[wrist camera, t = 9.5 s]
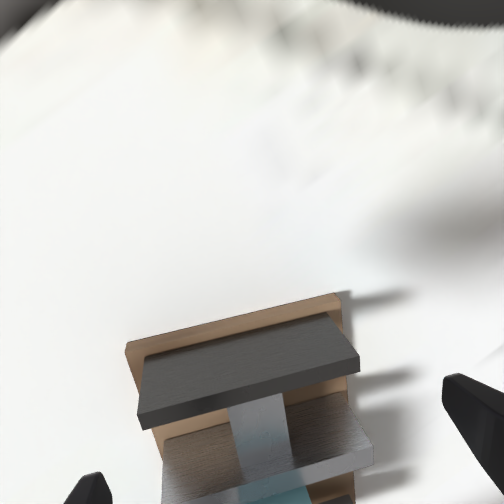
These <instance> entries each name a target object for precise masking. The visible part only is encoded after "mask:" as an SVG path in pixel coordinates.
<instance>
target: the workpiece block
mask: <svg viewBox="0 0 504 504" xmlns="http://www.w3.org/2000/svg"><path fill="white" fill-rule="evenodd" d="M246 504H312V503H311V500H310V497H309V494H308V491H307V489H306V486H302V487H299V488H295V489H292V490H289V491H286V492H282V493H279V494H276V495H272V496H269V497H266V498H263V499H259V500H256V501H253V502H250V503H246Z"/></svg>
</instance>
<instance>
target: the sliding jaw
mask: <svg viewBox="0 0 504 504" xmlns="http://www.w3.org/2000/svg"><path fill="white" fill-rule="evenodd" d="M357 372H360V356H359V354H358V353H357V352H356V350H355V349H354V348H353V346H352V345H351V344H350V342H349V341H348V340H347V339H346V337H345V336H344V335H343V333H342V332H341V331H340V329H339V328H338V327H337V325H336V324H335V323H334V321H333V320H332V319H331V317H330V316H329V315H328V314H327V312H324V313H320V314H315V315H311V316H307V317H303V318H299V319H295V320H291V321H287V322H283V323H279V324H275V325H271V326H267V327H263V328H259V329H255V330H251V331H247V332H243V333H239V334H235V335H231V336H226V337H222V338H218V339H214V340H210V341H206V342H202V343H198V344H194V345H190V346H186V347H182V348H178V349H174V350H170V351H166V352H162V353H158V354H154V355H150V356H146V357H144V365H143V372H142V380H141V388H140V395H139V403H138V411H137V416H138V419H139V422H140V424H141V427H142V430H147V429H150V428H154V427H158V426H161V425H165V424H169V423H172V422H176V421H180V420H184V419H187V418H191V417H195V416H198V415H202V414H206V413H209V412H213V411H217V410H220V409H224V408H227V412H228V416H229V420H230V423H227V424H223V425H220V426H216V427H212V428H209V429H205V430H202V431H198V432H194V433H191V434H187V435H183V436H180V437H176V438H173V439H169V440H165V441H164V447H163V473H162V499H161V504H246V503H250V502H253V501H256V500H259V499H263V498H266V497H269V496H272V495H276V494H279V493H282V492H286V491H289V490H292V489H295V488H299V487H302V486H305V485H309V484H312V483H315V482H318V481H322V480H325V479H328V478H331V477H335V476H338V475H341V474H345V473H348V472H351V471H354V470H358V469H361V468H364V467H367V466H371V465H374V460H373V445H372V444H371V442H370V440H369V439H368V437H367V435H366V434H365V432H364V430H363V429H362V427H361V425H360V424H359V422H358V420H357V418H356V417H355V415H354V413H353V412H352V410H351V408H350V407H349V405H348V403H347V402H346V400H345V398H344V397H343V395H342V393H341V392H339V393H335V394H332V395H328V396H324V397H321V398H317V399H314V400H310V401H306V402H303V403H299V404H296V405H292V406H288V407H285V408H284V402H283V396H282V393H283V392H287V391H290V390H294V389H298V388H302V387H305V386H309V385H313V384H316V383H320V382H324V381H327V380H331V379H335V378H338V377H342V376H346V375H349V374H353V373H357Z"/></svg>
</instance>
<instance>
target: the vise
mask: <svg viewBox="0 0 504 504" xmlns="http://www.w3.org/2000/svg"><path fill="white" fill-rule="evenodd" d="M324 312H327V314H328V315H329V316H330V317H331V319H332V320H333V321H334V323H335V324H336V325H337V327H338V328H339V329H340V331H341V332H342V333H343V327H342V314H341V301H340V299H339V298H338V297H337V296H336V295H335V293H331V294H327V295H323V296H319V297H315V298H311V299H306V300H302V301H298V302H294V303H290V304H286V305H282V306H277V307H273V308H269V309H265V310H261V311H257V312H252V313H248V314H244V315H240V316H236V317H232V318H228V319H223V320H219V321H215V322H211V323H207V324H203V325H199V326H194V327H190V328H186V329H182V330H178V331H174V332H170V333H165V334H161V335H157V336H153V337H149V338H145V339H141V340H136V341H132V342H128V343H127V344H126V349H125V355H126V358H127V361H128V364H129V367H130V370H131V372H132V375H133V378H134V381H135V384H136V387H137V389H138V392H139V395H140V388H141V380H142V372H143V365H144V357H146V356H150V355H154V354H158V353H162V352H166V351H170V350H174V349H178V348H182V347H186V346H190V345H194V344H198V343H202V342H206V341H210V340H214V339H218V338H222V337H226V336H231V335H235V334H239V333H243V332H247V331H251V330H255V329H259V328H263V327H267V326H271V325H275V324H279V323H283V322H287V321H291V320H295V319H299V318H303V317H307V316H311V315H315V314H320V313H324ZM339 392H341V393H342V395H343V397H344V398H345V400H346V402H347V403H348V395H347V381H346V376H342V377H338V378H335V379H331V380H327V381H324V382H320V383H316V384H313V385H309V386H305V387H302V388H298V389H294V390H290V391H287V392H283V393H282V396H283V402H284V408H285V407H288V406H292V405H296V404H299V403H303V402H306V401H310V400H314V399H317V398H321V397H324V396H328V395H332V394H335V393H339ZM227 423H230V420H229V416H228V412H227V408H224V409H220V410H217V411H213V412H209V413H206V414H202V415H198V416H195V417H191V418H187V419H184V420H180V421H176V422H172V423H169V424H165V425H161V426H158V427H154V428H151V429H152V432H153V435H154V438H155V441H156V443H157V446H158V449H159V452H160V455H161V458H162V460H163V447H164V441H165V440H169V439H173V438H176V437H180V436H183V435H187V434H191V433H194V432H198V431H202V430H205V429H209V428H212V427H216V426H220V425H223V424H227ZM305 486H306V489H307V491H308V494H309V497H310V500H311V503H312V504H356V502H355V489H354V475H353V471H351V472H348V473H345V474H341V475H338V476H335V477H331V478H328V479H325V480H322V481H318V482H315V483H312V484H309V485H305Z"/></svg>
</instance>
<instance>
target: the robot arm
mask: <svg viewBox="0 0 504 504" xmlns="http://www.w3.org/2000/svg"><path fill="white" fill-rule="evenodd" d="M442 403H443V406H444V408H445V410H446V411H447V413H448V415H449V416H450V418H451V419H452V421H453V422H454V424H455V426H456V427H457V429H458V430H459V432H460V434H461V435H462V437H463V438H464V440H465V441H466V443H467V445H468V446H469V448H470V449H471V451H472V453H473V454H474V456H475V457H476V459H477V460H478V462H479V463H480V465H481V466H482V467H483V469H484V470H485V471H486V473H487V474H488V475H489V477H490V478H491V479H492V481H493V482H494V483H495V484H496V486H497V487H498V488H499V490H500V491H501V492H502V494H503V495H504V393H503V392H500V391H498V390H496V389H494V388H492V387H489V386H487V385H485V384H483V383H481V382H478V381H476V380H474V379H472V378H470V377H467V376H465V375H463V374H460V373H456V374H452V375H448V376H445V377H444V379H443V387H442ZM63 504H113V501H112V494H111V491H110V489H109V487H108V485H107V483H106V481H105V478H104V476H103V474H102V473H101V472H95V473H91V474H87V475H84V476H83V477H82V478H81V479H80V480H79V481H78V483H77V484H76V486H75V487H74V489H73V490H72V492H71V493H70V495H69V496H68V498H67V499H66V501H65V502H64V503H63Z"/></svg>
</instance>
